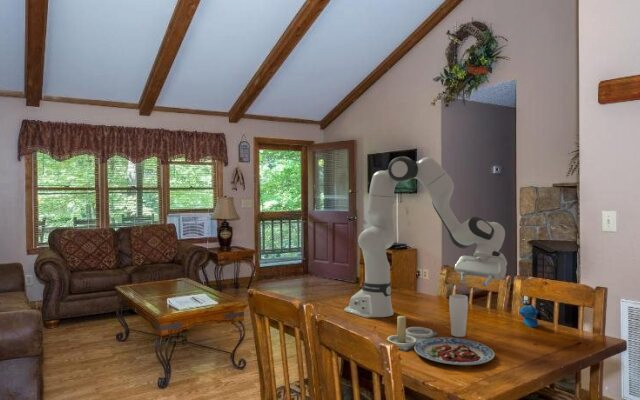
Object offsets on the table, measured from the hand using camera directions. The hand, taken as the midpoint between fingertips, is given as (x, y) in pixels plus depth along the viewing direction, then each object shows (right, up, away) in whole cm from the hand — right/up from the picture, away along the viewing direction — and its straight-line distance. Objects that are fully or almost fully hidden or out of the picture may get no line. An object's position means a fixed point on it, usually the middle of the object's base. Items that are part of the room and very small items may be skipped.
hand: (473, 283), depth 185 cm
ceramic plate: (-16, -19, -29) cm, 38 cm away
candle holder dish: (-27, -18, -13) cm, 35 cm away
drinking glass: (-8, -18, -8) cm, 22 cm away
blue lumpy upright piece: (+25, -18, +5) cm, 31 cm away
